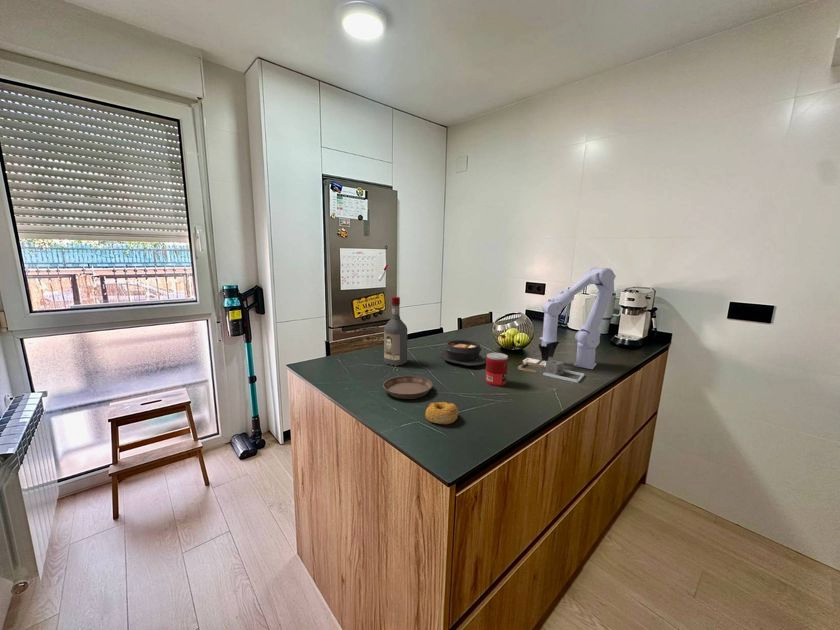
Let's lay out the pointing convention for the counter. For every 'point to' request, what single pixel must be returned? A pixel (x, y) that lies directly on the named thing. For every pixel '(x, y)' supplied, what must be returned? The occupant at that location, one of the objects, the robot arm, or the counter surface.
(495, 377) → the canned food
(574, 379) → the metal frame
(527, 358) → the dish
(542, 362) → the dish
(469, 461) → the counter surface
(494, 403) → the counter surface
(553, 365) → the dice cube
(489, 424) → the counter surface
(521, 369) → the oak pen
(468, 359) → the casserole
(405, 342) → the liquor
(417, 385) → the plant saucer
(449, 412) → the bagel
